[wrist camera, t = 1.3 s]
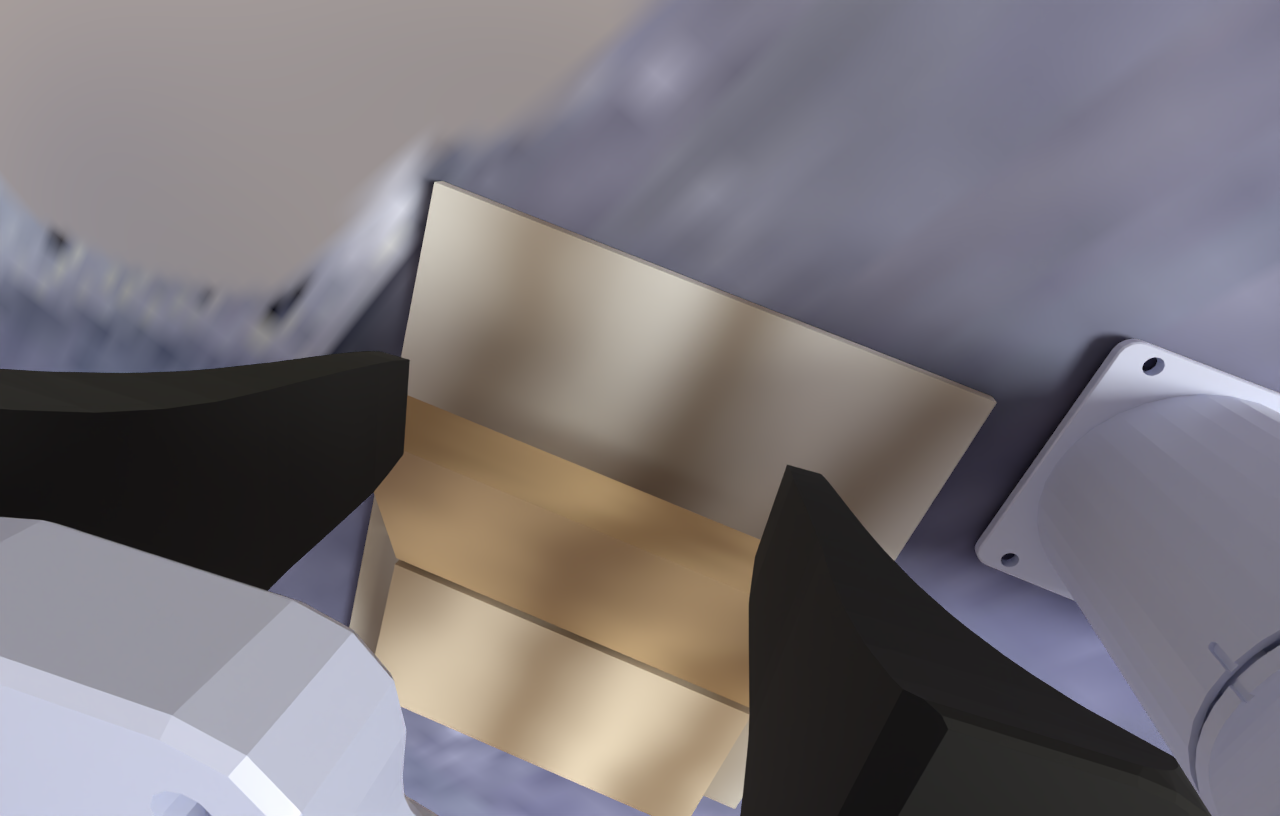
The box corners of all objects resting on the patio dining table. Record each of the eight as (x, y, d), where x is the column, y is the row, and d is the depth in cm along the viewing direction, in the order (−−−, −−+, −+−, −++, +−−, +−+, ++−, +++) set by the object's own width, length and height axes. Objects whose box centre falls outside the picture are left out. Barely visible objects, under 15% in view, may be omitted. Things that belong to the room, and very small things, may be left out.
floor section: (991, 396, 20) (1013, 423, 18) (732, 802, 28) (729, 849, 26) (442, 180, 20) (407, 185, 18) (352, 638, 29) (323, 672, 27)
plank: (882, 589, 17) (874, 645, 16) (764, 668, 24) (754, 709, 23) (384, 385, 17) (352, 428, 16) (417, 523, 25) (396, 558, 24)
